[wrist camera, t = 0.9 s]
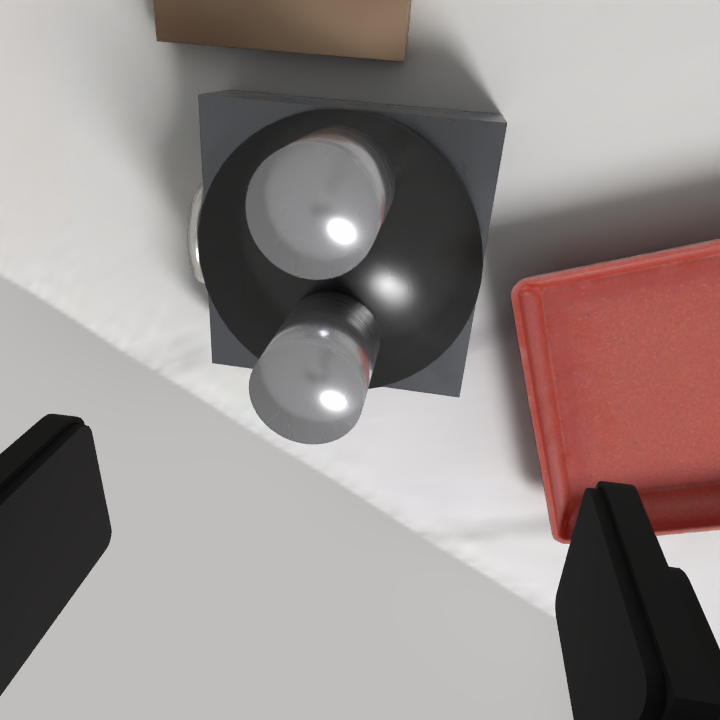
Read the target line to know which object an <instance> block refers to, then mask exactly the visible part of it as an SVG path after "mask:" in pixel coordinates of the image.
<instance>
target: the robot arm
mask: <svg viewBox="0 0 720 720" xmlns="http://www.w3.org/2000/svg"><path fill="white" fill-rule="evenodd" d="M111 533H112V531H111V525H110V520H109V515H108V510H107V505H106V500H105V495H104V490H103V485H102V480H101V475H100V470H99V465H98V460H97V455H96V450H95V445H94V440H93V435H92V431H91V429H90V427H89V426H86V425H85V424H84V421H83V420H82V419H81V418H79V417H75V416H67V415H58V414H48V415H46V416H45V417H43V418H42V419H41V420H39V421H38V422H37V423H36V424H35V425H34V426H32V427H31V428H30V429H29V430H28V431H27V432H25V433H24V434H23V435H22V436H21V437H20V438H19V439H17V440H16V441H15V442H14V443H13V444H12V445H10V446H9V447H8V448H7V449H6V450H5V451H3V452H2V453H1V454H0V696H1V694H2V693H3V692H4V690H5V689H6V687H7V686H8V685H9V683H10V682H11V680H12V679H13V678H14V676H15V675H16V674H17V672H18V671H19V669H20V668H21V667H22V665H23V664H24V662H25V661H26V660H27V658H28V657H29V656H30V654H31V653H32V651H33V650H34V649H35V647H36V646H37V644H38V643H39V642H40V640H41V639H42V638H43V636H44V635H45V633H46V632H47V630H48V629H49V628H50V626H51V625H52V624H53V622H54V621H55V619H56V618H57V616H58V615H59V614H60V613H61V611H62V610H63V608H64V607H65V606H66V604H67V603H68V601H69V600H70V599H71V597H72V596H73V595H74V593H75V592H76V590H77V589H78V588H79V586H80V585H81V583H82V582H83V581H84V579H85V578H86V577H87V575H88V574H89V572H90V571H91V570H92V568H93V567H94V565H95V564H96V563H97V561H98V560H99V558H100V557H101V556H102V554H103V553H104V551H105V550H106V549H107V547H108V545H109V542H110V539H111ZM555 610H556V619H557V625H558V631H559V636H560V642H561V648H562V654H563V659H564V665H565V671H566V677H567V683H568V689H569V694H570V699H571V706H572V712H573V718H574V720H720V649H719V646H718V644H717V642H716V640H715V637H714V635H713V633H712V631H711V628H710V626H709V624H708V621H707V619H706V617H705V615H704V612H703V610H702V608H701V605H700V603H699V601H698V599H697V596H696V594H695V592H694V590H693V587H692V585H691V583H690V580H689V579H688V577H687V575H686V574H685V572H684V571H682V570H681V569H680V568H674V567H668V564H667V562H666V559H665V557H664V554H663V552H662V550H661V547H660V545H659V542H658V540H657V537H656V535H655V532H654V530H653V528H652V525H651V523H650V520H649V518H648V515H647V513H646V510H645V508H644V506H643V503H642V501H641V498H640V496H639V493H638V491H637V489H636V487H635V486H634V485H631V484H623V483H615V482H607V481H599V482H598V483H597V485H596V487H595V488H586V489H585V491H584V494H583V498H582V502H581V505H580V509H579V513H578V516H577V520H576V524H575V527H574V531H573V535H572V539H571V542H570V546H569V550H568V553H567V557H566V561H565V564H564V568H563V572H562V575H561V579H560V583H559V587H558V590H557V594H556V603H555Z"/></svg>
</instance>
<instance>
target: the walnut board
mask: <svg viewBox="0 0 720 720" xmlns="http://www.w3.org/2000/svg"><path fill="white" fill-rule="evenodd" d="M410 8H411V0H154V11H155V24H156V36H157V41H162V42H174V43H187V44H199V45H211V46H223V47H235V48H247V49H259V50H272V51H284V52H296V53H308V54H320V55H332V56H344V57H357V58H369V59H381V60H393V61H406V50H407V40H408V29H409V19H410Z"/></svg>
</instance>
